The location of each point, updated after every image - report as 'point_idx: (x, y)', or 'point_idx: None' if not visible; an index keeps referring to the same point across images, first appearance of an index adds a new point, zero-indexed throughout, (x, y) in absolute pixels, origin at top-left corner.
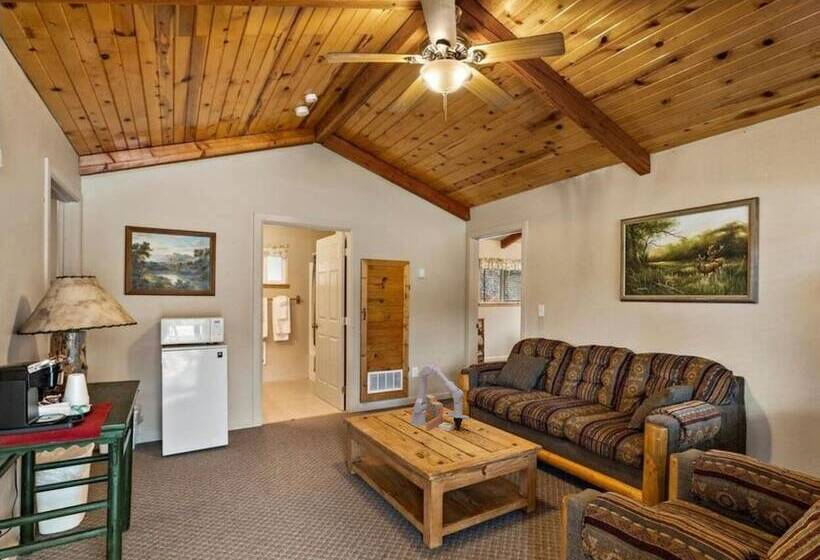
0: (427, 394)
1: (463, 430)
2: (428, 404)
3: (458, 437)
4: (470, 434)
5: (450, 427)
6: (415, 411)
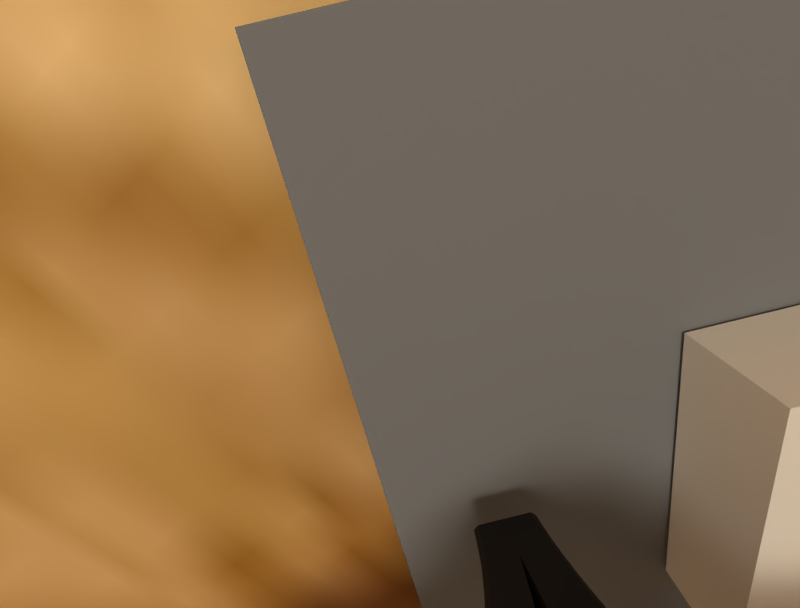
0: None
1: None
2: None
3: (139, 119)
4: (126, 543)
5: (755, 454)
6: None
